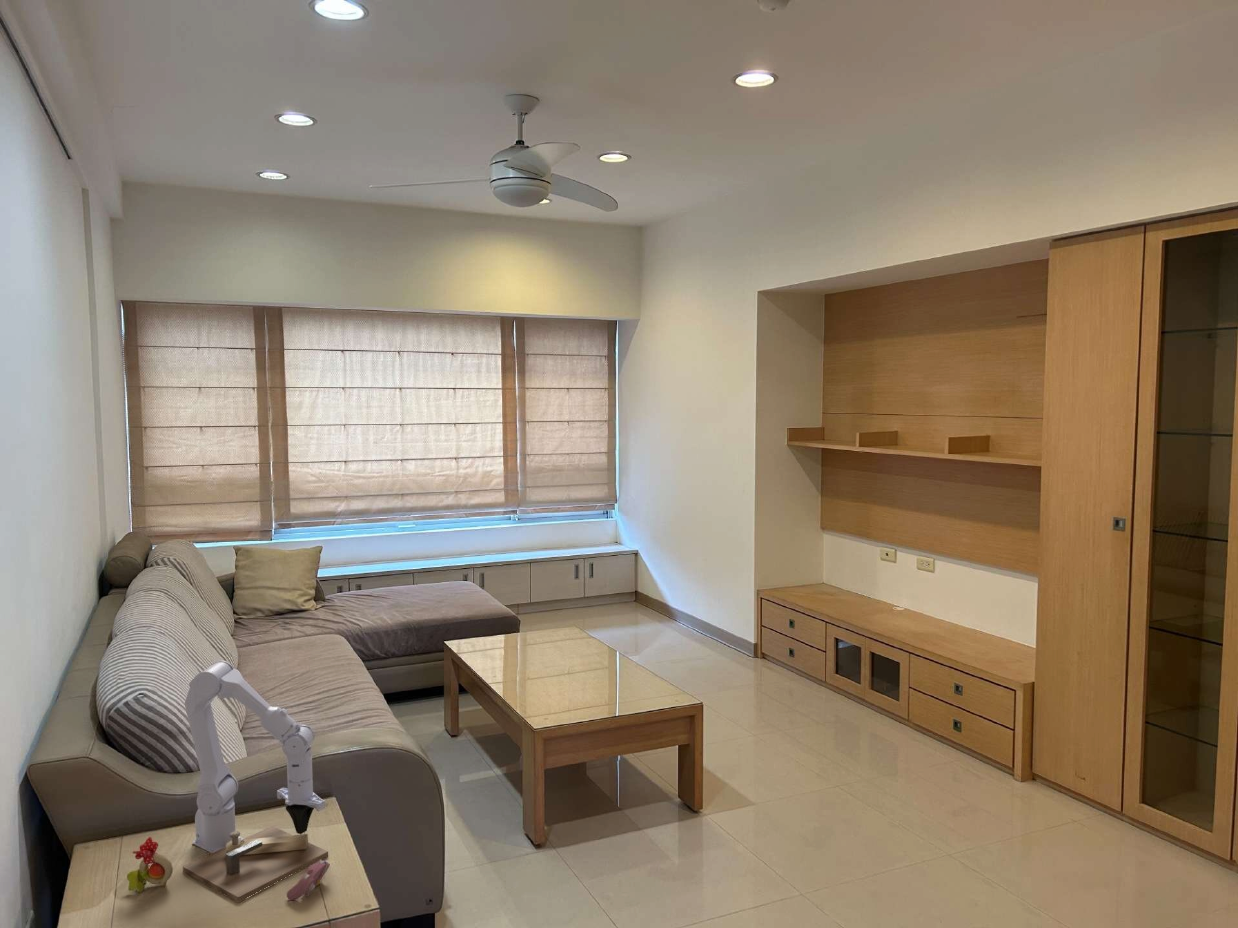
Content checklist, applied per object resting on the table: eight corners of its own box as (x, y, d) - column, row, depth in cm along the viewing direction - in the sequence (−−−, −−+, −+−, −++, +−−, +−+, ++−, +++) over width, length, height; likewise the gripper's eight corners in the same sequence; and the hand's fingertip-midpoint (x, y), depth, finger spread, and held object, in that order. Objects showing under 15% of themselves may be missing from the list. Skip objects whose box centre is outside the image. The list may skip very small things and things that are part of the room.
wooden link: (224, 857, 204) (223, 838, 204) (228, 848, 208) (228, 829, 208) (305, 849, 208) (304, 830, 207) (308, 841, 212) (307, 822, 211)
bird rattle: (170, 886, 199) (132, 871, 199) (188, 842, 198) (149, 828, 198) (156, 902, 193) (117, 887, 192) (175, 857, 192) (135, 842, 192)
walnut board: (183, 871, 201) (182, 866, 201) (272, 830, 220) (272, 825, 220) (238, 902, 189) (238, 897, 189) (328, 855, 208) (328, 851, 208)
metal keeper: (226, 873, 198) (225, 853, 198) (257, 858, 205) (257, 839, 204) (231, 875, 197) (230, 856, 197) (262, 860, 204) (262, 841, 203)
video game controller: (300, 909, 189) (313, 883, 188) (283, 898, 190) (295, 872, 189) (324, 884, 199) (336, 859, 198) (307, 874, 199) (319, 848, 198)
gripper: (265, 777, 213) (267, 831, 214) (307, 790, 206) (309, 846, 207) (289, 767, 219) (291, 819, 220) (331, 779, 212) (332, 833, 213)
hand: (301, 831), depth 214 cm, fingers closed
